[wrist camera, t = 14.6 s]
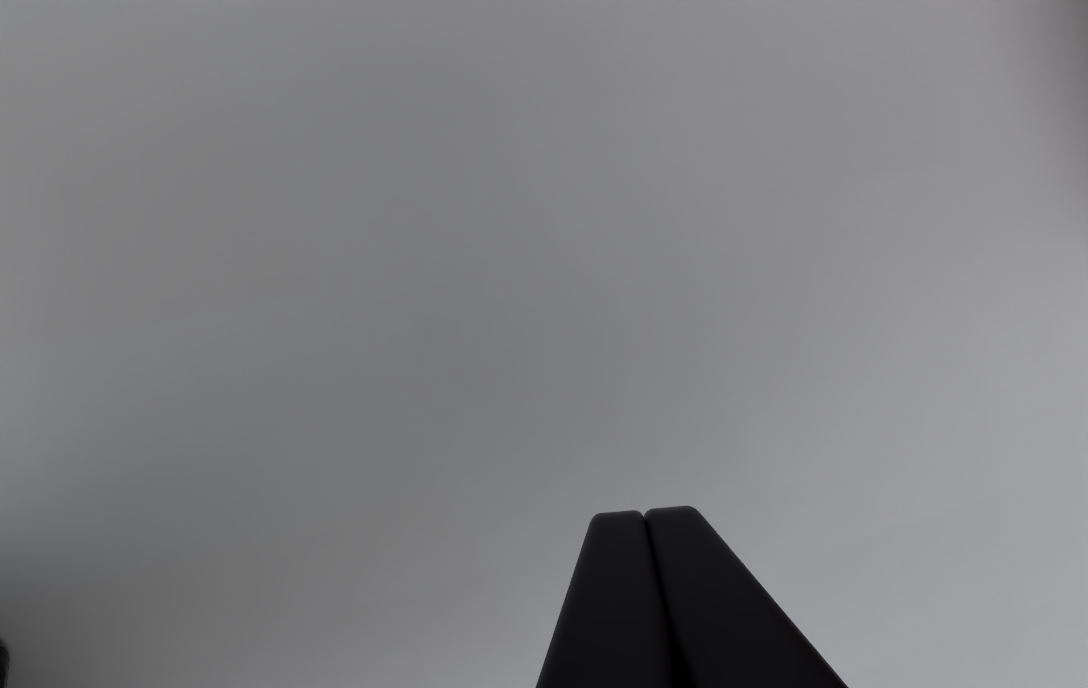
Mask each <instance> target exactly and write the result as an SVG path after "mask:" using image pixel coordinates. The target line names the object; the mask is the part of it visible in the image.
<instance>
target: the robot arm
mask: <svg viewBox="0 0 1088 688" xmlns="http://www.w3.org/2000/svg"><path fill="white" fill-rule="evenodd" d="M9 661H10V660H9V654H8V652H7V651H6V650H5V649H4V647H2V646H0V688H6V686H7V677H8V669H9ZM536 688H848V687H847V685H846V684H845V683H844V682H843V681H842V680H841V678H840V677H839V676H838V675H837V674H836V672H835V671H834V670H833V669H832V668H831V667H830V665H829V664H828V663H827V662H826V661H825V659H824V658H823V657H822V656H821V655H820V654H819V652H818V651H817V650H816V649H815V648H814V647H813V645H812V644H811V643H810V642H809V641H808V639H807V638H806V637H805V636H804V635H803V634H802V632H801V631H800V630H799V629H798V628H797V627H796V625H795V624H794V623H793V622H792V621H791V619H790V618H789V617H788V616H787V615H786V614H785V612H784V611H783V610H782V609H781V608H780V607H779V605H778V604H777V603H776V602H775V601H774V599H773V598H772V597H771V596H770V595H769V594H768V592H767V591H766V590H765V589H764V588H763V587H762V585H761V584H760V583H759V582H758V581H757V579H756V578H755V577H754V576H753V575H752V574H751V572H750V571H749V570H748V569H747V568H746V566H745V565H744V564H743V563H742V562H741V561H740V559H739V558H738V557H737V556H736V555H735V554H734V552H733V551H732V550H731V549H730V548H729V546H728V545H727V544H726V543H725V542H724V541H723V539H722V538H721V537H720V536H719V535H718V534H717V532H716V531H715V530H714V529H713V528H712V526H711V525H710V524H709V523H708V522H707V521H706V519H705V518H704V517H703V516H702V515H701V514H700V513H699V512H698V511H697V510H696V509H695V508H693V507H691V506H678V507H666V508H655V509H650V510H649V511H647V512H646V513H645V515H644V517H643V515H642V514H641V513H640V512H638V511H635V510H632V511H620V512H609V513H599V514H596V515H595V516H594V517H593V518H592V520H591V522H590V524H589V527H588V530H587V533H586V536H585V539H584V542H583V545H582V548H581V552H580V555H579V558H578V561H577V564H576V567H575V570H574V573H573V576H572V579H571V582H570V585H569V588H568V591H567V594H566V597H565V600H564V603H563V606H562V609H561V612H560V615H559V618H558V621H557V625H556V628H555V631H554V634H553V637H552V640H551V643H550V646H549V649H548V652H547V655H546V658H545V661H544V664H543V667H542V670H541V673H540V676H539V679H538V682H537V685H536Z"/></svg>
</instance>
